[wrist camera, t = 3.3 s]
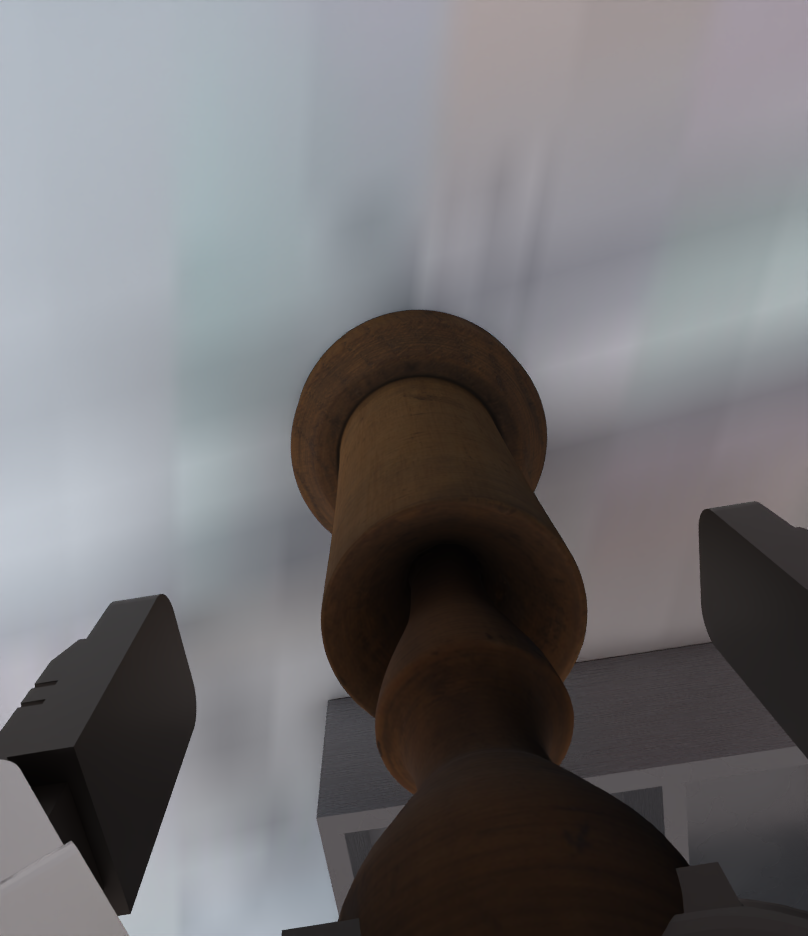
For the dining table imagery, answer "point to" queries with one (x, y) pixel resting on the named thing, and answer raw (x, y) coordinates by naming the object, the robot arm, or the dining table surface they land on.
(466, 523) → the brown turned rounded post
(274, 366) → the dining table surface
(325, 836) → the rack
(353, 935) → the robot arm
